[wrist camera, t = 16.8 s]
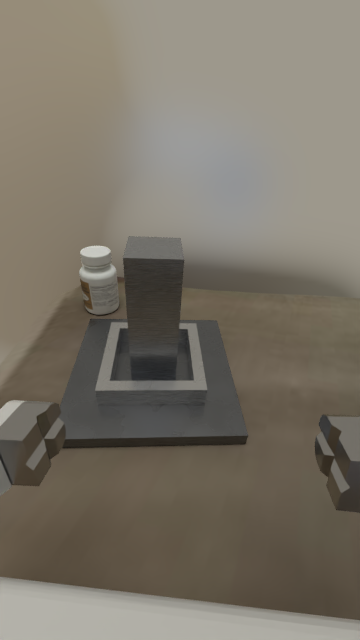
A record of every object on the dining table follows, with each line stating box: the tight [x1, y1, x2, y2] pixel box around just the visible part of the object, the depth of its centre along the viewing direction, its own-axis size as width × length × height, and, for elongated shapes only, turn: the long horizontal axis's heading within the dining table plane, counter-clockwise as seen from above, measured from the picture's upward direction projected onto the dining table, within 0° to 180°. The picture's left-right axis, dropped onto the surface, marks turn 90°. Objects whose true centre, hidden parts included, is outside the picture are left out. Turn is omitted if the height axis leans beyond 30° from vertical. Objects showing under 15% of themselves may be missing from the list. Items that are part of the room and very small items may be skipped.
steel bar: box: [123, 236, 184, 381], centre depth 23 cm, size 4×4×12 cm
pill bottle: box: [79, 246, 119, 315], centre depth 34 cm, size 4×4×8 cm
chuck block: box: [58, 319, 248, 448], centre depth 27 cm, size 15×15×3 cm
